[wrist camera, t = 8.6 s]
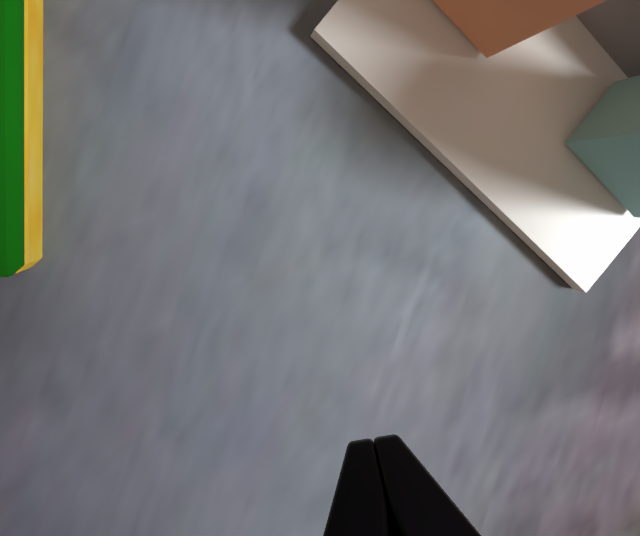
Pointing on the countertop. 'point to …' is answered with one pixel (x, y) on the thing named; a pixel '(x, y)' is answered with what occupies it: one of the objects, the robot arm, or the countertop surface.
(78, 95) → the countertop surface
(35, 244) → the dish sponge
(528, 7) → the orange domed block
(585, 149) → the button teal
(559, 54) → the button console
